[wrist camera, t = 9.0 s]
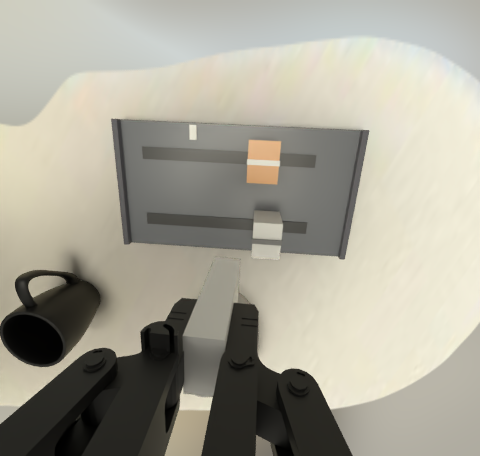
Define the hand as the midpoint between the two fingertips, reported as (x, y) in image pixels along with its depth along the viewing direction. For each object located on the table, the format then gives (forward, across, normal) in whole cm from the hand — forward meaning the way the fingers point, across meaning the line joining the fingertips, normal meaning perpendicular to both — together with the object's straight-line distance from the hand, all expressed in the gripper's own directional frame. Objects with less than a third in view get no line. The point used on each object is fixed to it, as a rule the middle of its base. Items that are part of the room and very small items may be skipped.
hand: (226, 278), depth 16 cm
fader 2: (+17, +3, -2) cm, 17 cm away
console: (+19, -1, +2) cm, 19 cm away
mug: (+19, -24, -14) cm, 34 cm away
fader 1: (+17, +2, +6) cm, 18 cm away
